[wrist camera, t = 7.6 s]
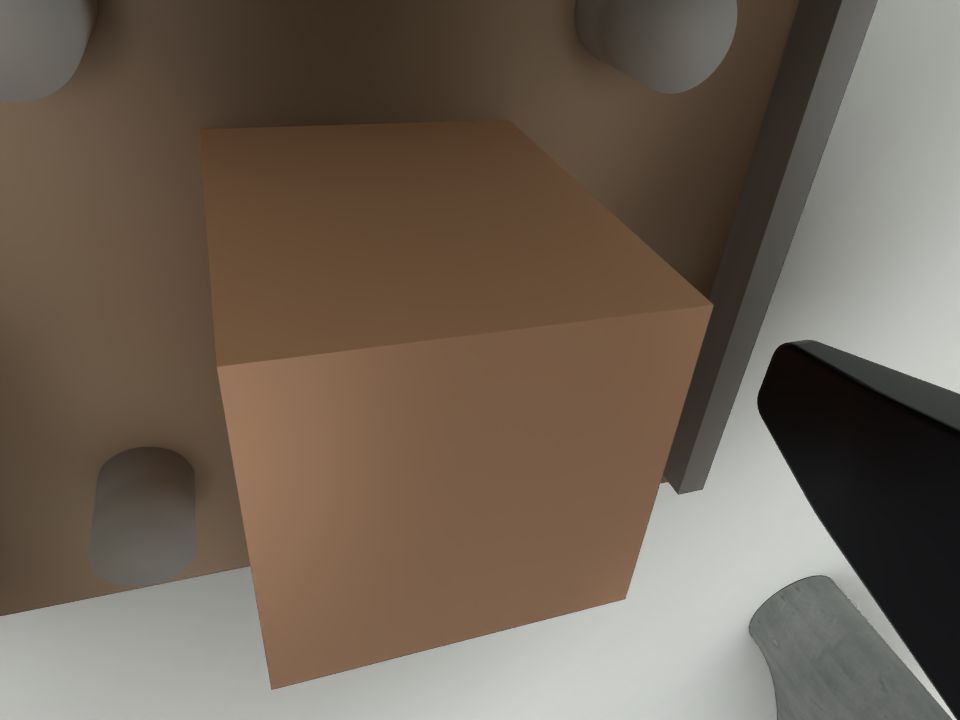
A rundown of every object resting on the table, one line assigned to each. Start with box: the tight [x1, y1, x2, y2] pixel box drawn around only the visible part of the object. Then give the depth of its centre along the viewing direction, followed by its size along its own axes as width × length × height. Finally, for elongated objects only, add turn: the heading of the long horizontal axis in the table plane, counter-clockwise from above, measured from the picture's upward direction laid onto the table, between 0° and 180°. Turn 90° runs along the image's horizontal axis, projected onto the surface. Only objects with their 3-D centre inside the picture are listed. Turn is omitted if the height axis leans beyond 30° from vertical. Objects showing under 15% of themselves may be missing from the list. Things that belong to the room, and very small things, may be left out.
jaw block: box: [199, 120, 714, 690], centre depth 9 cm, size 4×4×5 cm
